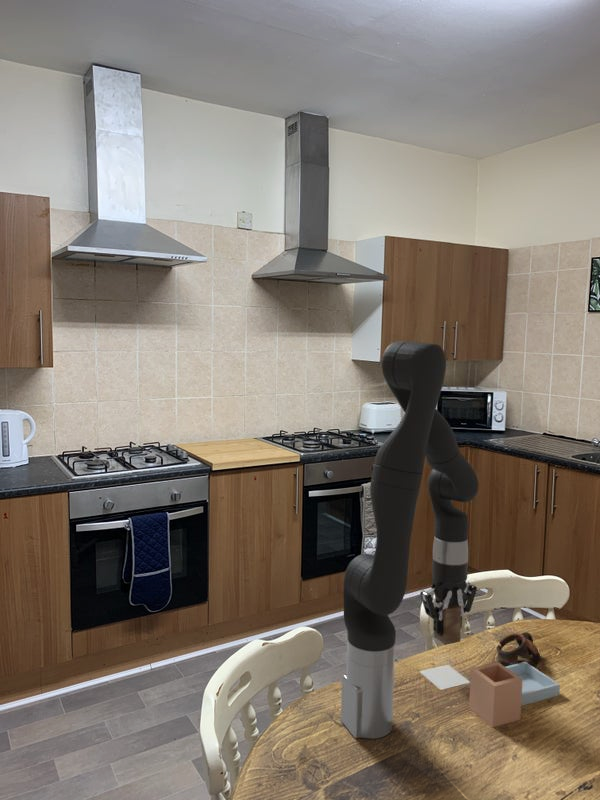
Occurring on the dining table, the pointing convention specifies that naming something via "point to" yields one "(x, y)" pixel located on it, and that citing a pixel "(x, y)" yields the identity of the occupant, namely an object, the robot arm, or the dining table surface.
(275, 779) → the dining table surface
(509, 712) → the terracotta pot
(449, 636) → the walnut block
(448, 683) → the ceramic tile
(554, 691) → the blue-grey tub
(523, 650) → the dark brown looped piece
